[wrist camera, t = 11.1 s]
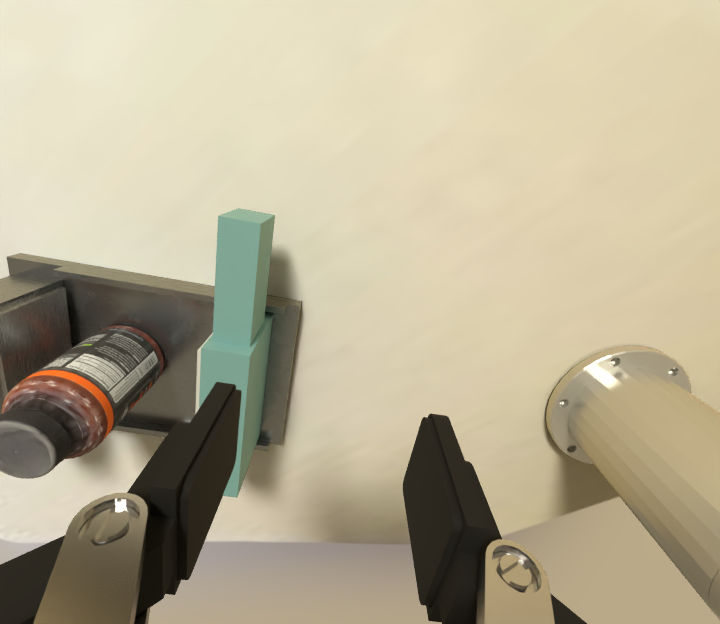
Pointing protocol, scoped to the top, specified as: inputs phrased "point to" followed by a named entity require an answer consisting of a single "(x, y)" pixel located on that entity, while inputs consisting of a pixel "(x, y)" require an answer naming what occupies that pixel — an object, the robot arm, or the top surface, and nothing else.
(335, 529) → the top surface
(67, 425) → the supplement bottle
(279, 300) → the vise
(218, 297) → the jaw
